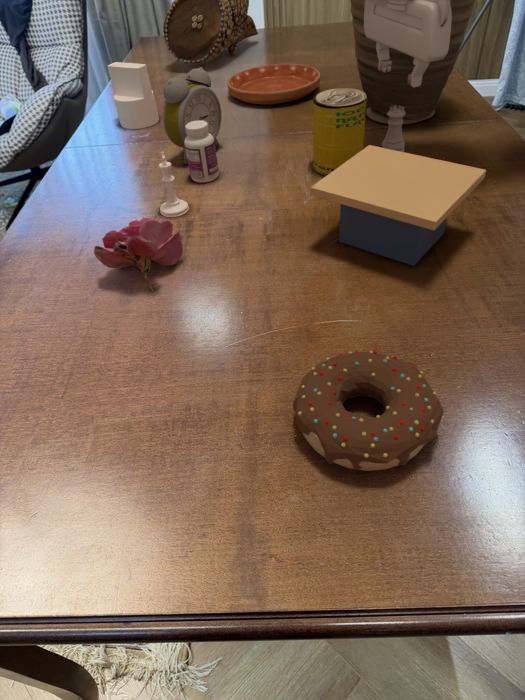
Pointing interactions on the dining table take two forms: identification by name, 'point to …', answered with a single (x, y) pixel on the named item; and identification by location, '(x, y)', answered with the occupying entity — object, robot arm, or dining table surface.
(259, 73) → the saucer
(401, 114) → the rook chess piece
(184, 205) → the chess piece
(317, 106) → the beverage can
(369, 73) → the vase
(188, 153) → the pill bottle
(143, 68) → the cylinder with rectangular tab
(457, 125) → the dining table surface
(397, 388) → the donut
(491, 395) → the dining table surface
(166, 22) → the basket
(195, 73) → the alarm clock
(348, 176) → the board box
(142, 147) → the dining table surface
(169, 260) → the flower
